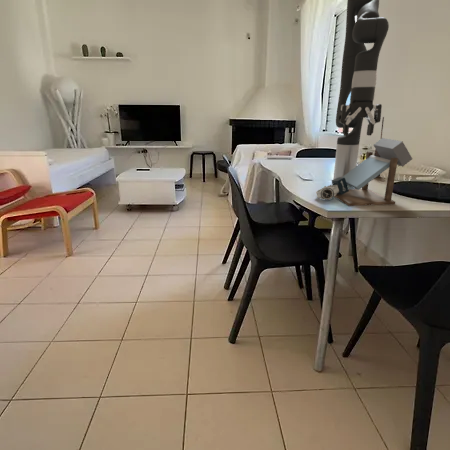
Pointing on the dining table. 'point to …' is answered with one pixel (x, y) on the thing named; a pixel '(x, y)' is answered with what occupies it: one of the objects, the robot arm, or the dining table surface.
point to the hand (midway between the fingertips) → (357, 135)
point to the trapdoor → (378, 162)
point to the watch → (333, 189)
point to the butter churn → (381, 138)
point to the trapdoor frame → (369, 196)
